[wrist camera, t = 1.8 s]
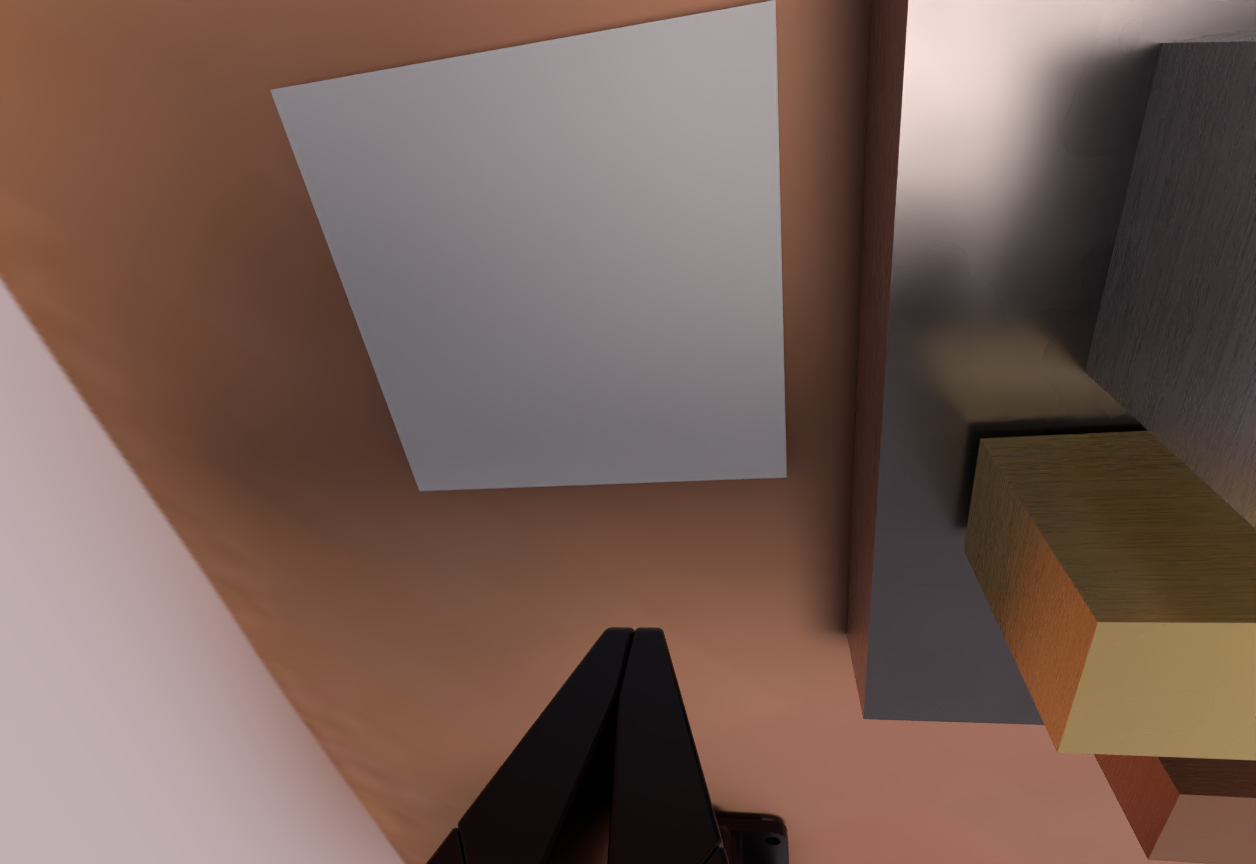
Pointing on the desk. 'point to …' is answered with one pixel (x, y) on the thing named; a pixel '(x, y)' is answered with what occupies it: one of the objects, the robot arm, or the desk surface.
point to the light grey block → (1190, 268)
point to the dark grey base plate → (998, 343)
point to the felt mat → (565, 251)
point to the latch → (1119, 593)
